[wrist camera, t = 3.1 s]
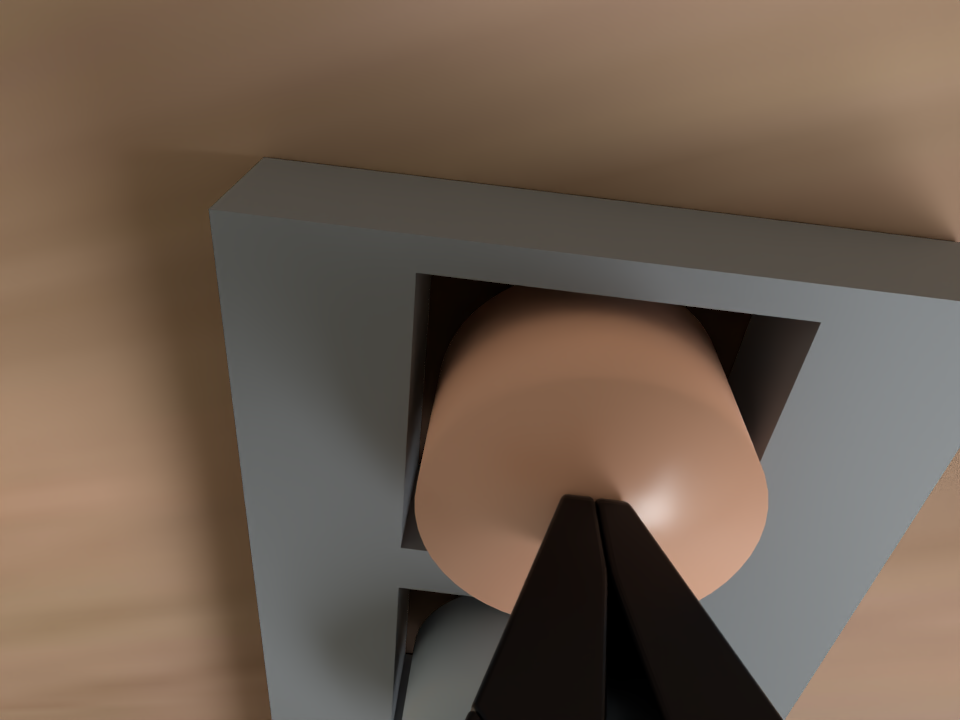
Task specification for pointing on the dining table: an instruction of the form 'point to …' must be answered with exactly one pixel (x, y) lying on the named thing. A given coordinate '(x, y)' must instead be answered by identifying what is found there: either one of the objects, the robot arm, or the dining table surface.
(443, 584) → the button panel
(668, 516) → the terracotta button
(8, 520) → the dining table surface
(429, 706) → the slate button
